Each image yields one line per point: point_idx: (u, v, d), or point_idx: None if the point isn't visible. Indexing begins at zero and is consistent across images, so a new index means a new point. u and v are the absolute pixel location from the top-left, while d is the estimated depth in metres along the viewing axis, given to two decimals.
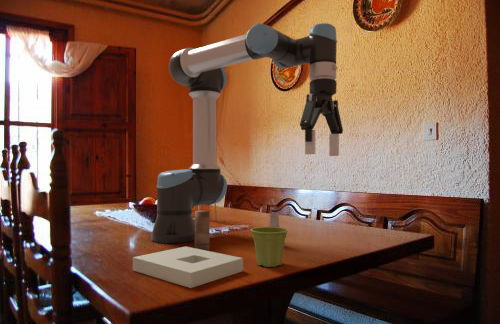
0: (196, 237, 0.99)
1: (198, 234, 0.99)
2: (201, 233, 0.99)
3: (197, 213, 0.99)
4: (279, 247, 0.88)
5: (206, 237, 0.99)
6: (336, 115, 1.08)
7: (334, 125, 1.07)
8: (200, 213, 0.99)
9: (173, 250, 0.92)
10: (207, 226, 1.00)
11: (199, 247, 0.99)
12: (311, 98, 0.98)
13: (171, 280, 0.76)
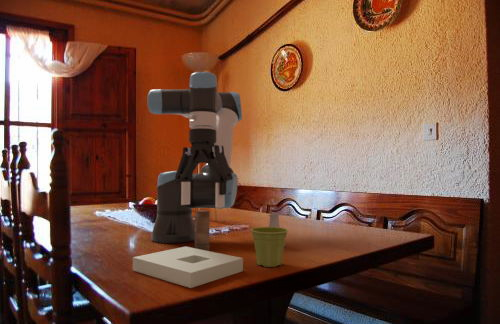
0: (196, 237, 0.99)
1: (198, 234, 0.99)
2: (201, 233, 0.99)
3: (197, 213, 0.99)
4: (279, 247, 0.88)
5: (206, 237, 0.99)
6: None
7: None
8: (200, 213, 0.99)
9: (173, 250, 0.92)
10: (207, 226, 1.00)
11: (199, 247, 0.99)
12: None
13: (171, 280, 0.76)
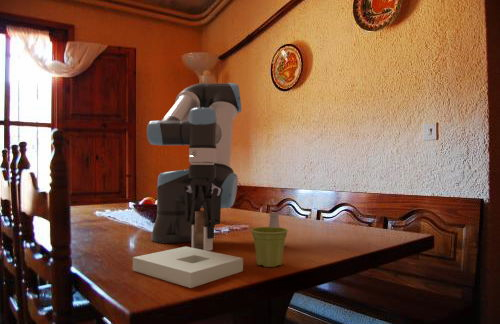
0: (196, 237, 0.99)
1: (198, 234, 0.99)
2: (201, 233, 0.99)
3: (197, 213, 0.99)
4: (279, 247, 0.88)
5: None
6: None
7: None
8: (200, 213, 0.99)
9: (173, 250, 0.92)
10: None
11: (199, 247, 0.99)
12: None
13: (171, 280, 0.76)
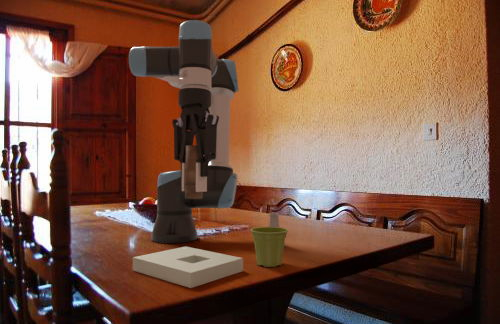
0: (187, 176, 0.82)
1: (189, 171, 0.82)
2: (193, 171, 0.82)
3: (188, 147, 0.82)
4: (279, 247, 0.88)
5: None
6: None
7: None
8: (192, 146, 0.82)
9: (173, 250, 0.92)
10: None
11: (191, 187, 0.82)
12: None
13: (171, 280, 0.76)
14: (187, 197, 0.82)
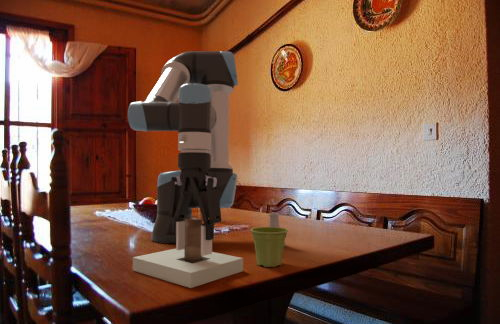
0: (186, 251, 0.82)
1: (188, 247, 0.82)
2: (192, 247, 0.82)
3: (187, 222, 0.82)
4: (279, 247, 0.88)
5: (198, 251, 0.82)
6: None
7: None
8: (191, 222, 0.82)
9: (173, 250, 0.92)
10: (199, 237, 0.83)
11: None
12: None
13: (171, 280, 0.76)
14: None
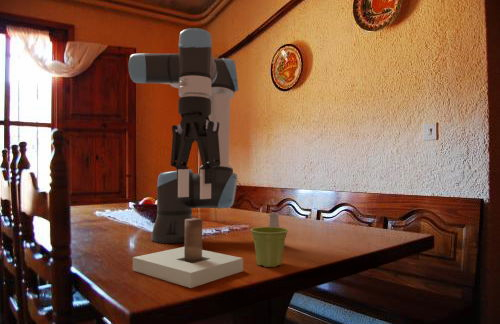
0: (186, 251, 0.82)
1: (188, 247, 0.82)
2: (192, 247, 0.82)
3: (187, 222, 0.82)
4: (279, 247, 0.88)
5: (198, 251, 0.82)
6: None
7: None
8: (191, 222, 0.82)
9: (173, 250, 0.92)
10: (199, 237, 0.83)
11: None
12: None
13: (171, 280, 0.76)
14: None
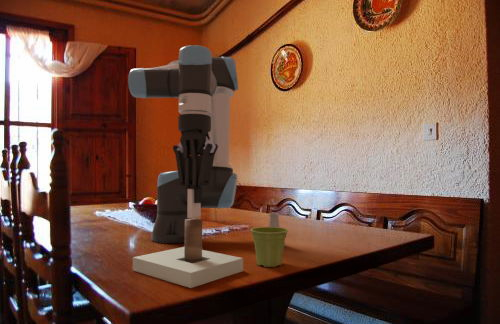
0: (186, 251, 0.82)
1: (188, 247, 0.82)
2: (192, 247, 0.82)
3: (187, 222, 0.82)
4: (279, 247, 0.88)
5: (198, 251, 0.82)
6: None
7: None
8: (191, 222, 0.82)
9: (173, 250, 0.92)
10: (199, 237, 0.83)
11: None
12: None
13: (171, 280, 0.76)
14: None
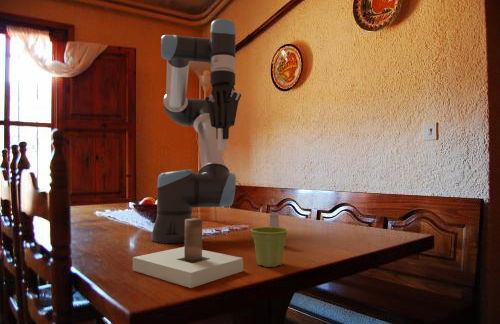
0: (186, 251, 0.82)
1: (188, 247, 0.82)
2: (192, 247, 0.82)
3: (187, 222, 0.82)
4: (279, 247, 0.88)
5: (198, 251, 0.82)
6: None
7: None
8: (191, 222, 0.82)
9: (173, 250, 0.92)
10: (199, 237, 0.83)
11: None
12: None
13: (171, 280, 0.76)
14: None
